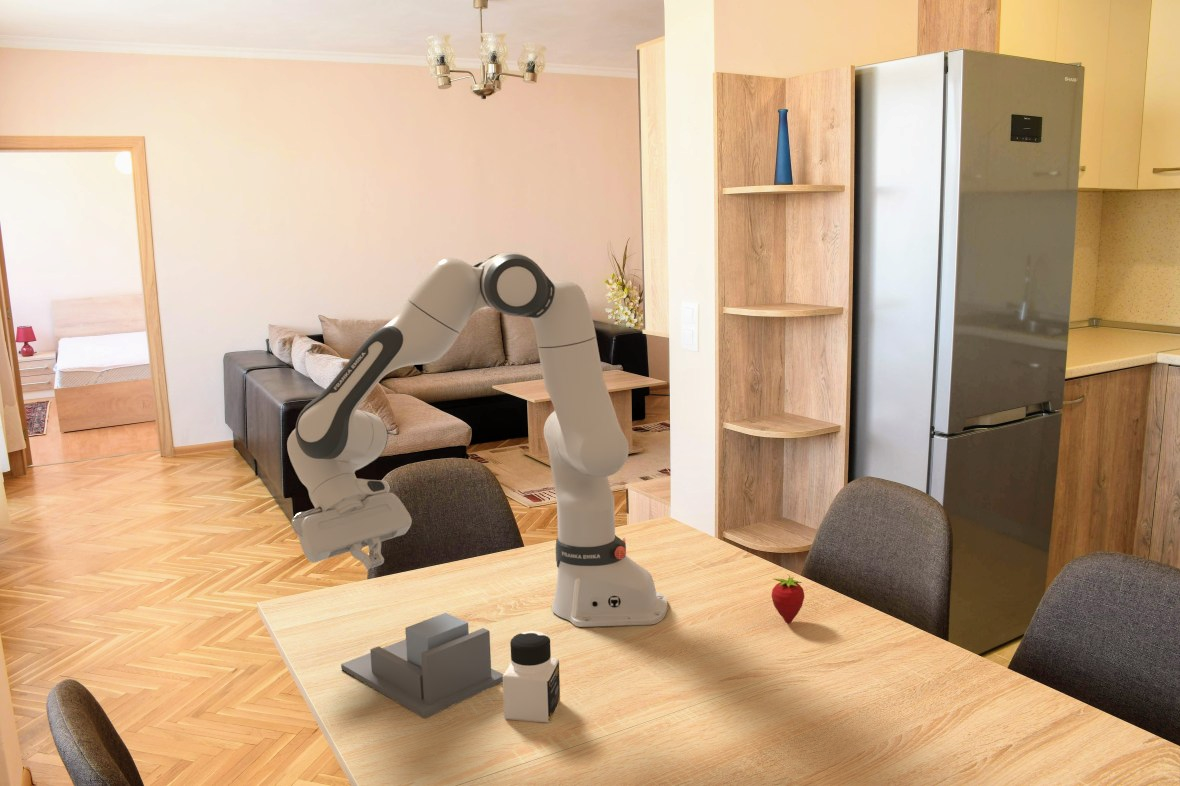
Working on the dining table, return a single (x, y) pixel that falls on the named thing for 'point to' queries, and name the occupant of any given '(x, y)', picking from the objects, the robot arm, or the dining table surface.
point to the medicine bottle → (531, 679)
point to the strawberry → (788, 598)
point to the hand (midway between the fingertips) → (376, 565)
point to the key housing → (429, 673)
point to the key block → (432, 635)
